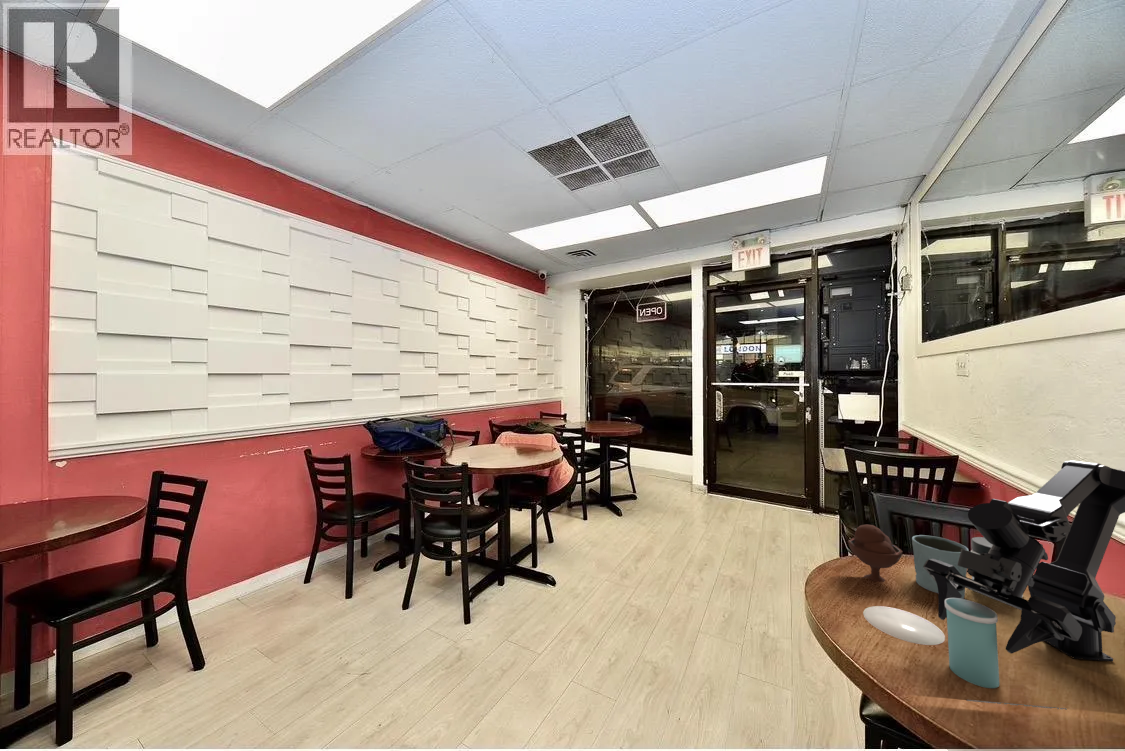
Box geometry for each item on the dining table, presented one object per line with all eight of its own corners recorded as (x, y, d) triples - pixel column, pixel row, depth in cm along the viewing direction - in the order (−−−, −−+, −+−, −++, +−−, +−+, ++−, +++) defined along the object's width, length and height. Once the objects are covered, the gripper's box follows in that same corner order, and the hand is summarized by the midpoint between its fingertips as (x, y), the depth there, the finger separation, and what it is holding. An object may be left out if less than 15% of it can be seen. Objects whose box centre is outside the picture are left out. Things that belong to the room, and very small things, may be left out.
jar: (1036, 601, 90) (1033, 550, 90) (1004, 603, 89) (1001, 552, 90) (991, 581, 99) (988, 535, 99) (961, 583, 98) (959, 536, 99)
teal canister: (959, 659, 71) (956, 594, 71) (1009, 684, 65) (1005, 613, 65) (940, 669, 69) (936, 602, 69) (989, 696, 63) (985, 622, 63)
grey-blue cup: (912, 576, 102) (910, 531, 102) (966, 589, 96) (964, 541, 96) (915, 593, 94) (913, 544, 95) (974, 607, 88) (972, 555, 88)
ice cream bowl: (906, 598, 92) (904, 536, 93) (849, 584, 99) (847, 526, 99) (901, 579, 101) (899, 522, 101) (849, 567, 107) (847, 514, 108)
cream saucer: (912, 612, 87) (912, 608, 87) (964, 652, 74) (964, 647, 74) (850, 608, 88) (850, 604, 89) (889, 647, 76) (889, 642, 76)
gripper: (927, 517, 78) (889, 580, 75) (1067, 557, 60) (1024, 642, 57) (956, 551, 80) (920, 613, 77) (1100, 599, 62) (1060, 683, 59)
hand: (972, 633), depth 67 cm, fingers open, 9 cm apart
